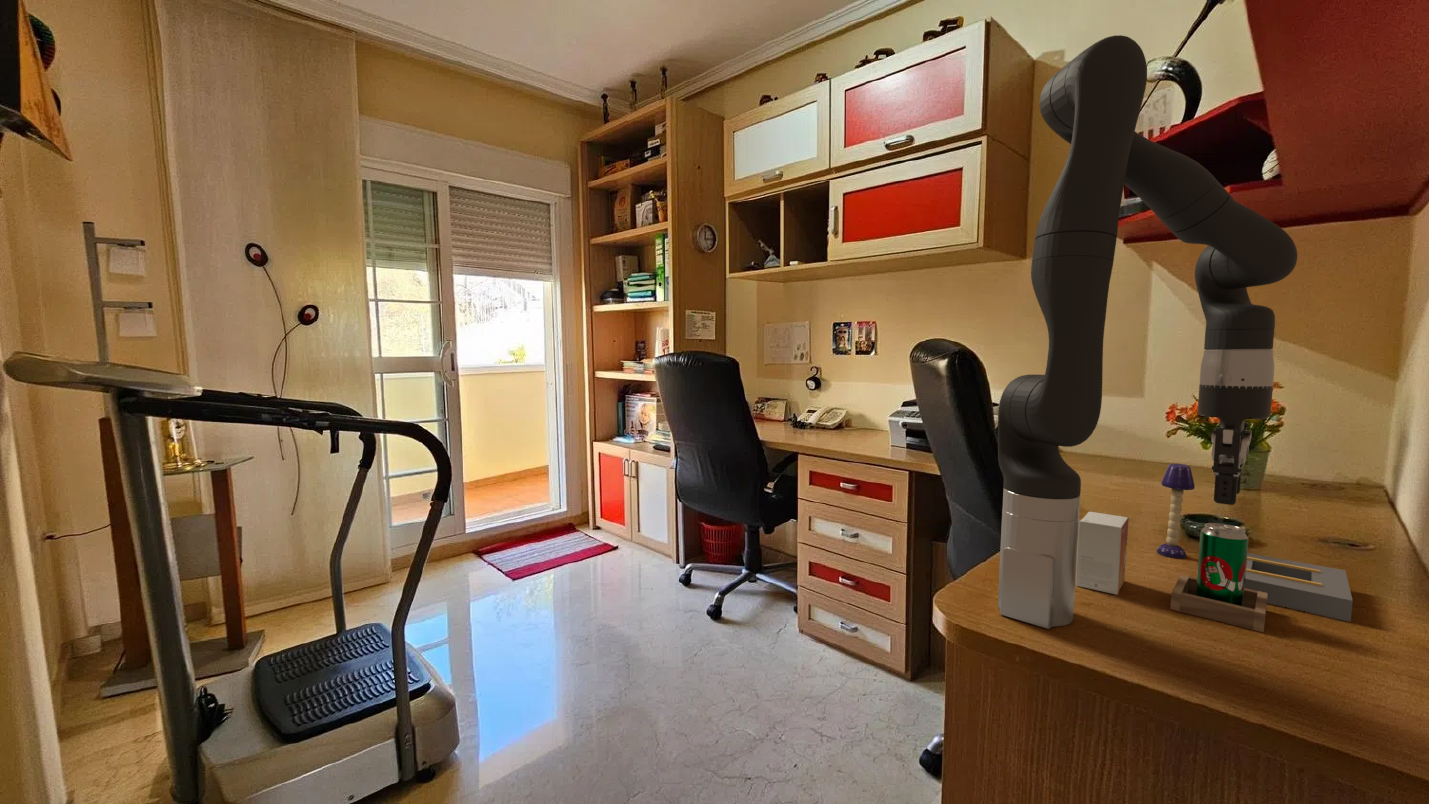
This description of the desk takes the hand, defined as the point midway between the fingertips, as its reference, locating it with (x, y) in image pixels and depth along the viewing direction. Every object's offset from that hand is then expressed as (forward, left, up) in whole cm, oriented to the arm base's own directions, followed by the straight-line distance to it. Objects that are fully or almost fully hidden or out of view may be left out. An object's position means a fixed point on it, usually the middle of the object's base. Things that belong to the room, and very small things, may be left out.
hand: (1227, 498), depth 80 cm
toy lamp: (+24, +8, -16) cm, 30 cm away
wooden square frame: (0, 0, -16) cm, 16 cm away
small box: (-1, +14, -16) cm, 22 cm away
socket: (+16, -6, -16) cm, 23 cm away
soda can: (0, 0, -16) cm, 16 cm away
